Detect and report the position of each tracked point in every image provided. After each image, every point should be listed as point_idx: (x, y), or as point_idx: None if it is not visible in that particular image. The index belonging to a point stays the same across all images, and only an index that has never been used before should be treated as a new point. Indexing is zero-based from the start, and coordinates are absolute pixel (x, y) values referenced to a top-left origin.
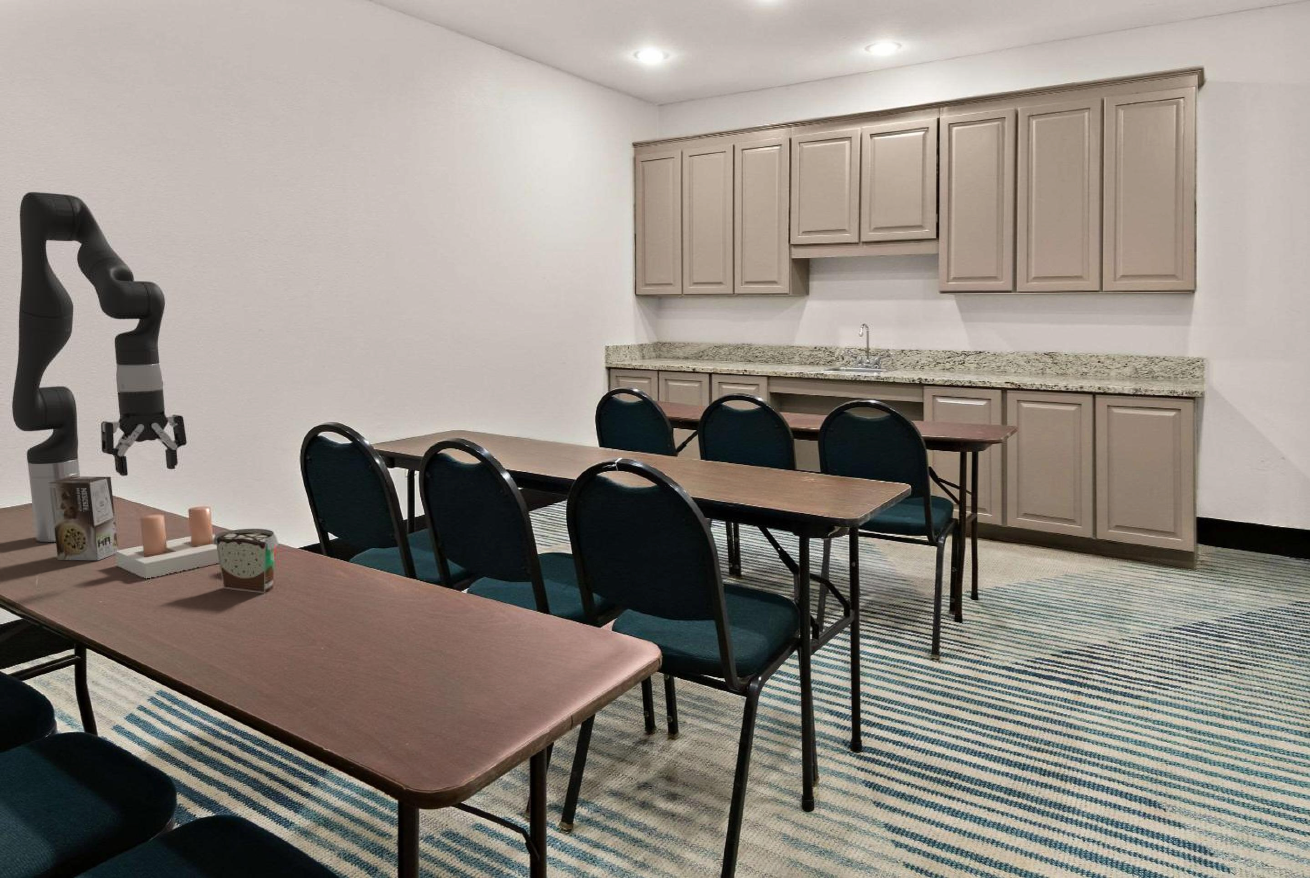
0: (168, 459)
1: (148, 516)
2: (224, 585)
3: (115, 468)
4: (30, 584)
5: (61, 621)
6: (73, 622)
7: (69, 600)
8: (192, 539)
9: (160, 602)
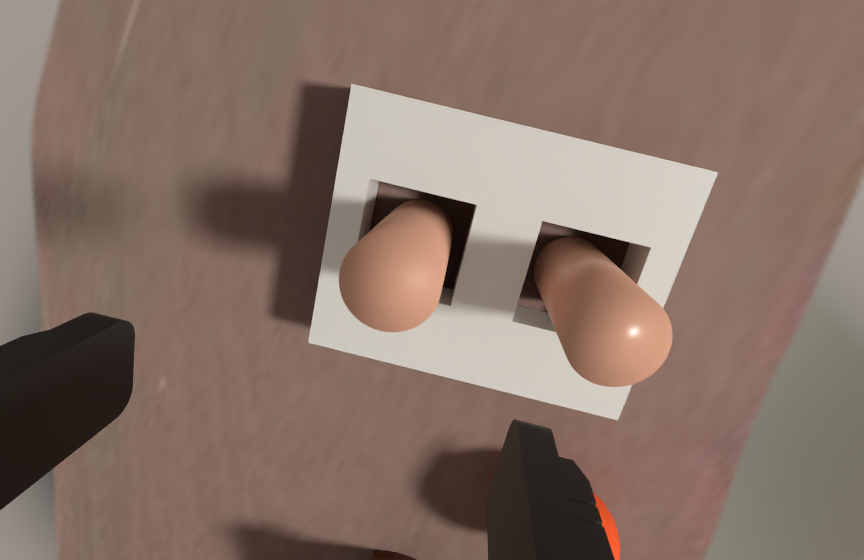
0: (503, 529)
1: (389, 255)
2: (374, 557)
3: (6, 345)
4: (105, 34)
5: None
6: None
7: (118, 305)
8: (543, 288)
9: (237, 507)
